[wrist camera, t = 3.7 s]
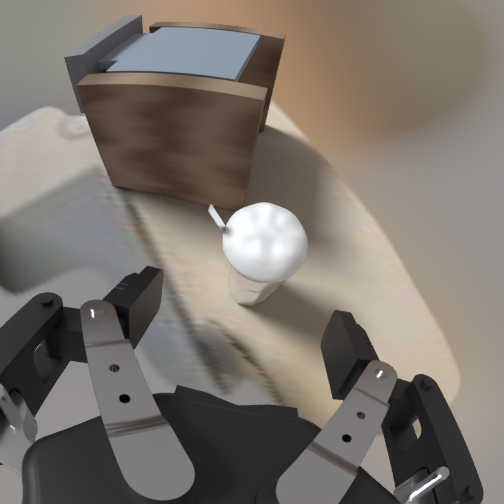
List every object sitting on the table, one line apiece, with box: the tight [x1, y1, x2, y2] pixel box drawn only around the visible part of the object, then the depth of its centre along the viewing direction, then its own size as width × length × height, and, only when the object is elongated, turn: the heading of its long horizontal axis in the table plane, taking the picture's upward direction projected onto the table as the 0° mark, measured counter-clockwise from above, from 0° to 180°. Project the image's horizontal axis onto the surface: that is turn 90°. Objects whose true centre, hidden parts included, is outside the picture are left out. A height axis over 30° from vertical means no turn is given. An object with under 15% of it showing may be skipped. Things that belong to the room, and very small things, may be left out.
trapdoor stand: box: [76, 22, 286, 211], centre depth 22 cm, size 13×13×12 cm
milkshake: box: [208, 202, 308, 306], centre depth 17 cm, size 4×5×10 cm
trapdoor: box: [64, 15, 260, 113], centre depth 17 cm, size 13×9×6 cm
